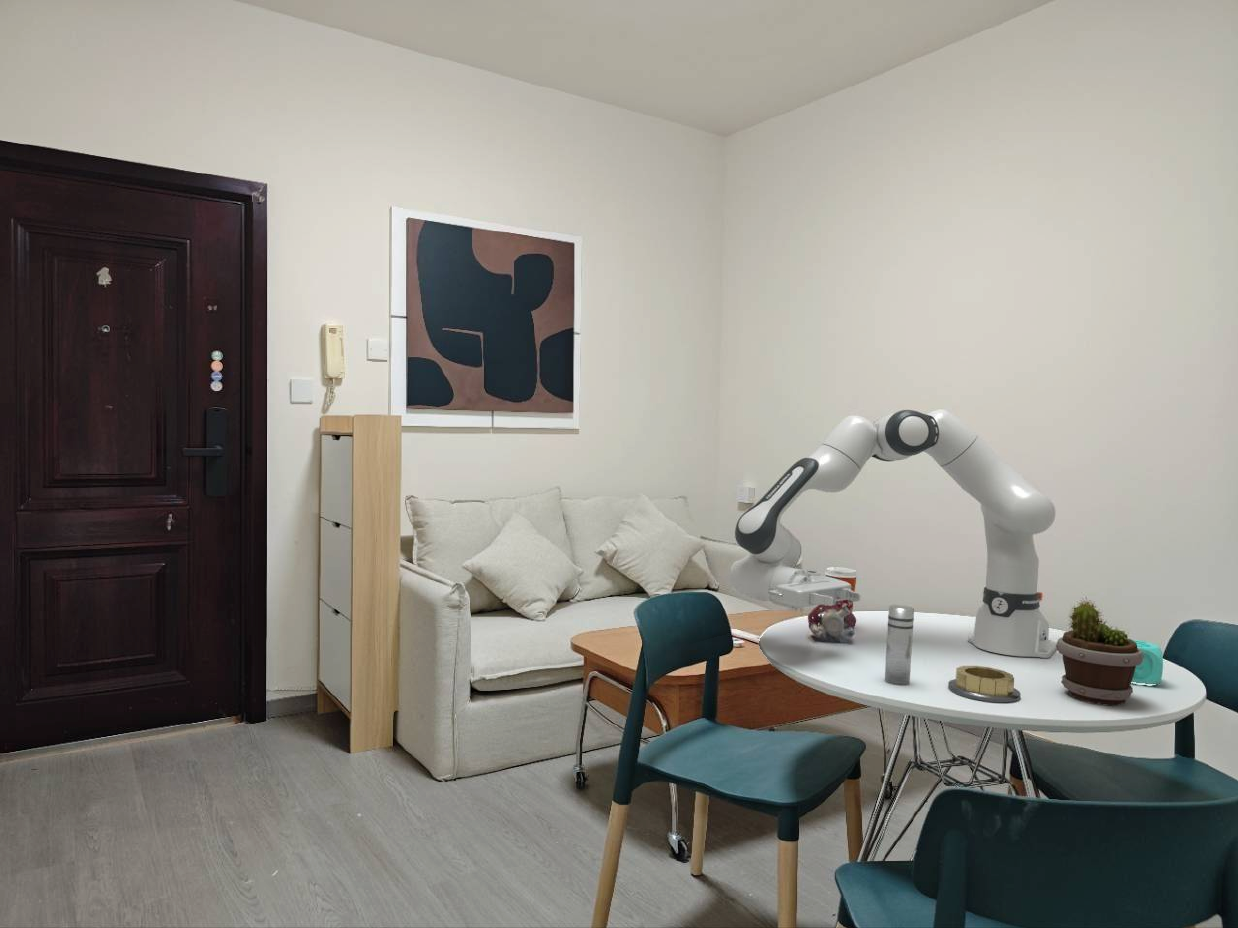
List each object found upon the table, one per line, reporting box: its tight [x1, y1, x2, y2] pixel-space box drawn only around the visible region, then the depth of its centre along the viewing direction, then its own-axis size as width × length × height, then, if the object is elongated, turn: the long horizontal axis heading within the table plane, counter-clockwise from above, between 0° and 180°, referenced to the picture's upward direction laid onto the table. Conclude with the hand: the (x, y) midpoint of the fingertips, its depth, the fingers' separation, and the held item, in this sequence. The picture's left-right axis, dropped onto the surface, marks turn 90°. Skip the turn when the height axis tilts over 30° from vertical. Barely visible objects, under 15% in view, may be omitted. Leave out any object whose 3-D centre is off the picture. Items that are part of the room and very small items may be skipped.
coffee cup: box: [824, 566, 859, 619], centre depth 218 cm, size 8×8×15 cm
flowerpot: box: [1056, 596, 1144, 706], centre depth 167 cm, size 14×15×20 cm
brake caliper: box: [807, 601, 857, 644], centre depth 204 cm, size 11×11×12 cm
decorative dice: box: [1130, 638, 1164, 685], centre depth 181 cm, size 8×8×8 cm
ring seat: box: [947, 665, 1022, 704], centre depth 167 cm, size 13×13×4 cm
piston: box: [884, 604, 915, 686], centre depth 172 cm, size 5×5×15 cm
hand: (846, 599), depth 180 cm, fingers open, 8 cm apart
